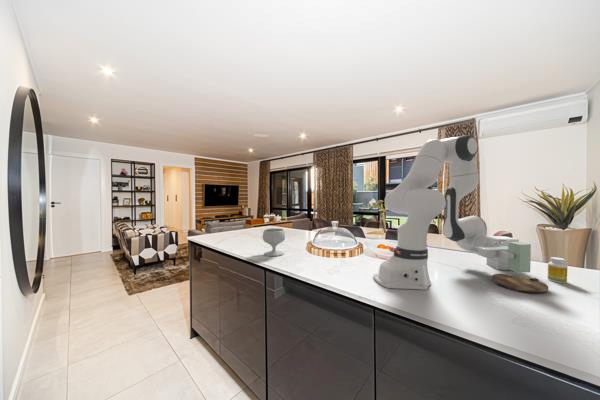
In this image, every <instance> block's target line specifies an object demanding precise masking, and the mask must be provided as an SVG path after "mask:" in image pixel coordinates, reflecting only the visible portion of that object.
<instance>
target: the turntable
mask: <svg viewBox="0 0 600 400" xmlns="http://www.w3.org/2000/svg"><path fill="white" fill-rule="evenodd" d="M491 280H492V281H493V282H494V283H496V284H498V285H499V284H501V285H504V286H507V287H510V288H514V289H518V290H523V291H530V292H540V293H545V292H547V291H549V285H548V284H546V283H545V282H542V281H540V280H539V278H537V277H527V276H524V275H517V274H511V273H494V274H492V275H491ZM501 285H500V286H501Z"/></svg>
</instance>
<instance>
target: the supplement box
mask: <svg viewBox="0 0 600 400" xmlns="http://www.w3.org/2000/svg"><path fill="white" fill-rule="evenodd" d="M486 237H488V238H493V239H497V240H507V241H510V242H520V239H517V238H514V237H509V236H506V235H504V236H503V235H486ZM486 265H488V266H490V267H491V268H494V269H495V270H500V271H501V270H504V271H511V270H510V269H508V257H496V258H486Z"/></svg>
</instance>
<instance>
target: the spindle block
mask: <svg viewBox="0 0 600 400" xmlns="http://www.w3.org/2000/svg"><path fill="white" fill-rule="evenodd" d="M531 246H532V244H531V243H526V242H523V241H522V242H521V241H519V242H508V253H513V254H516V258H508V269H510V270H509V271H513V272H516V273H519V274H523V273H525V274H527V273H531V255H532V254H531V253H532V252H531V250H532V249H531V248H532V247H531Z"/></svg>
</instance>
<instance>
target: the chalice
mask: <svg viewBox="0 0 600 400" xmlns="http://www.w3.org/2000/svg"><path fill="white" fill-rule="evenodd" d="M285 239H286V233H285V231H284V229H283V228H276V227H275V228H267V229H264V230H263V232H262V241H263V242H265V243H266V244H268V245H270V246H271V248H272V250H268V251H265V252H264V255H265V256H267V257H278V256H282V255H284V254H285V253H284V251H282V250H276V247H277V246H278V245H279V244H281V243H283V242H284V241H285Z"/></svg>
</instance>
